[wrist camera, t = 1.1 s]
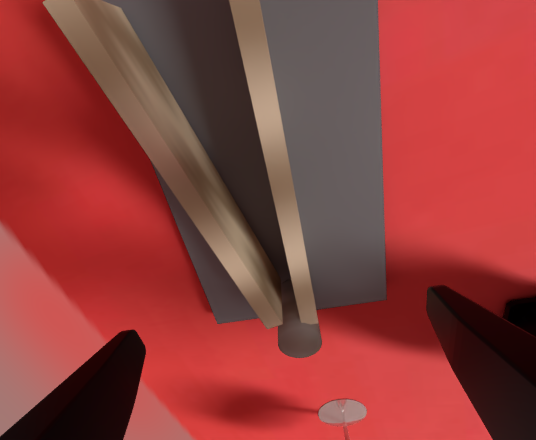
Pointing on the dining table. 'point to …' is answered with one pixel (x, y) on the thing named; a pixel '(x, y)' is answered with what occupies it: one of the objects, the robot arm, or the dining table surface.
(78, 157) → the dining table surface
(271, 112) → the arm
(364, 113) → the serving board
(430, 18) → the dining table surface
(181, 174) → the tongs arm
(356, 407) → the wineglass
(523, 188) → the dining table surface
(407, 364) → the dining table surface
